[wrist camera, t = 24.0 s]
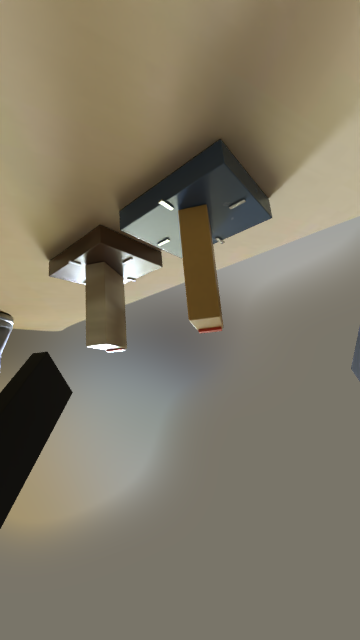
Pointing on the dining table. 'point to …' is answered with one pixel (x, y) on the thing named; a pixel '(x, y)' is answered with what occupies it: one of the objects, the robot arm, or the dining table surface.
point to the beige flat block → (105, 308)
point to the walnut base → (105, 256)
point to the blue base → (198, 201)
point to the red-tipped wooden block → (200, 270)
